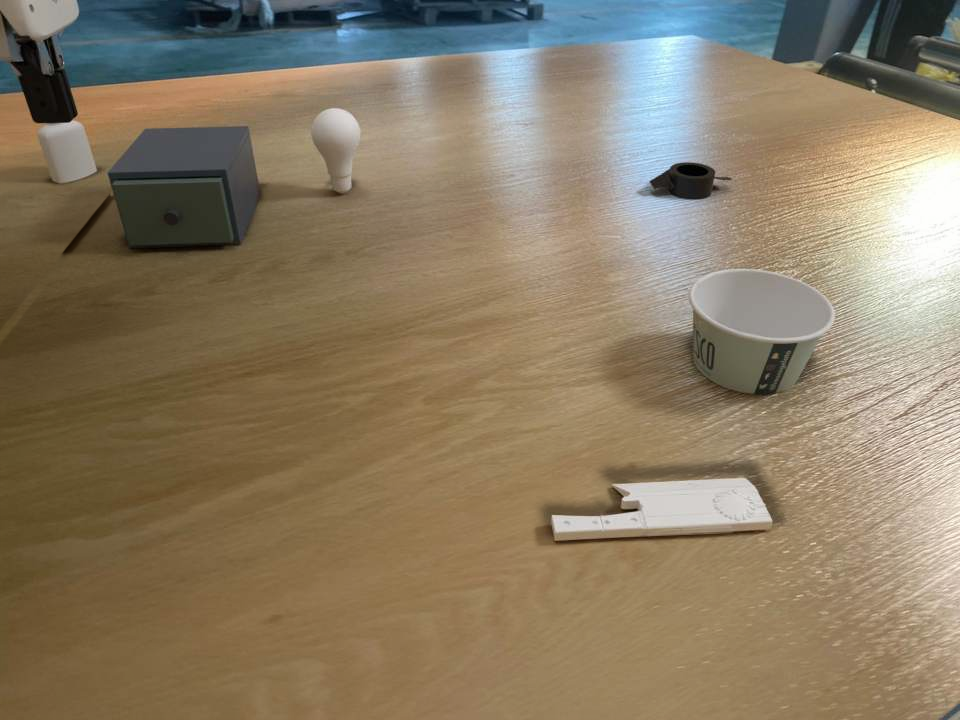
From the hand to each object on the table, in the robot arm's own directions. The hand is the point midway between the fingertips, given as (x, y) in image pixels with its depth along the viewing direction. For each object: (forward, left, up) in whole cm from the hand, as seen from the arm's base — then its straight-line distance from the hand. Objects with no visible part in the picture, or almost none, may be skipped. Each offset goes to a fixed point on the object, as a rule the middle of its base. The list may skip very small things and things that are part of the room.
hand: (56, 119), depth 65 cm
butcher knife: (+46, -31, -19) cm, 59 cm away
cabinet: (+4, +21, -19) cm, 29 cm away
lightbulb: (+20, +28, -19) cm, 40 cm away
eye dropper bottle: (-16, +34, -19) cm, 42 cm away
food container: (+60, -14, -19) cm, 64 cm away
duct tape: (+66, +25, -19) cm, 74 cm away
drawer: (+4, +19, -18) cm, 26 cm away
